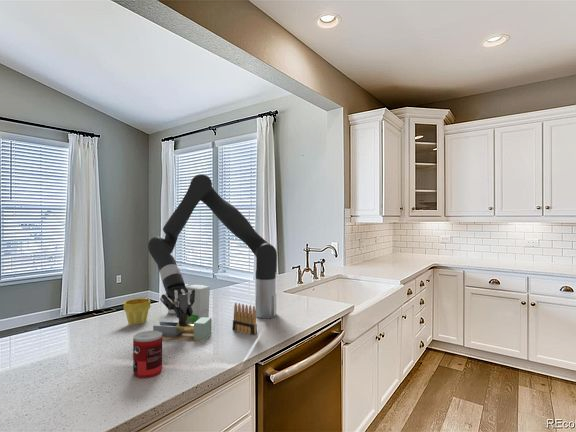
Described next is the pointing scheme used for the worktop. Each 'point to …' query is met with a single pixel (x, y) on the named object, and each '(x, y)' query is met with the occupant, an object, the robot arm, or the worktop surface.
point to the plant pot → (137, 310)
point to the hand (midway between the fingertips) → (185, 316)
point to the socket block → (202, 328)
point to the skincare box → (199, 302)
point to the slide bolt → (184, 316)
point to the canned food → (147, 354)
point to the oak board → (183, 338)
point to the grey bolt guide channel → (167, 329)
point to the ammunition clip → (245, 319)
